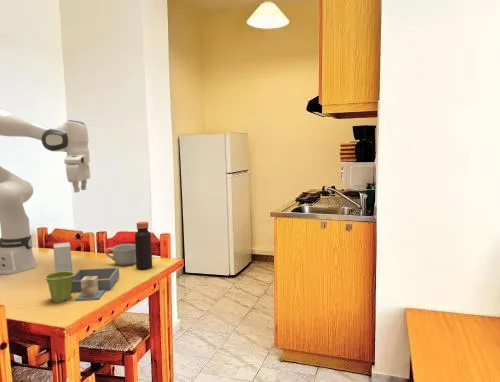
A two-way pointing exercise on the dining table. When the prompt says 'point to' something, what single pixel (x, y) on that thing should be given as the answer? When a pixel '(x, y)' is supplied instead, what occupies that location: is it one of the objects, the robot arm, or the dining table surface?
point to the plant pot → (60, 285)
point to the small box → (62, 257)
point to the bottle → (143, 246)
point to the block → (89, 286)
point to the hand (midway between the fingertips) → (80, 191)
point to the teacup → (123, 254)
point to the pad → (90, 297)
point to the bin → (101, 273)
